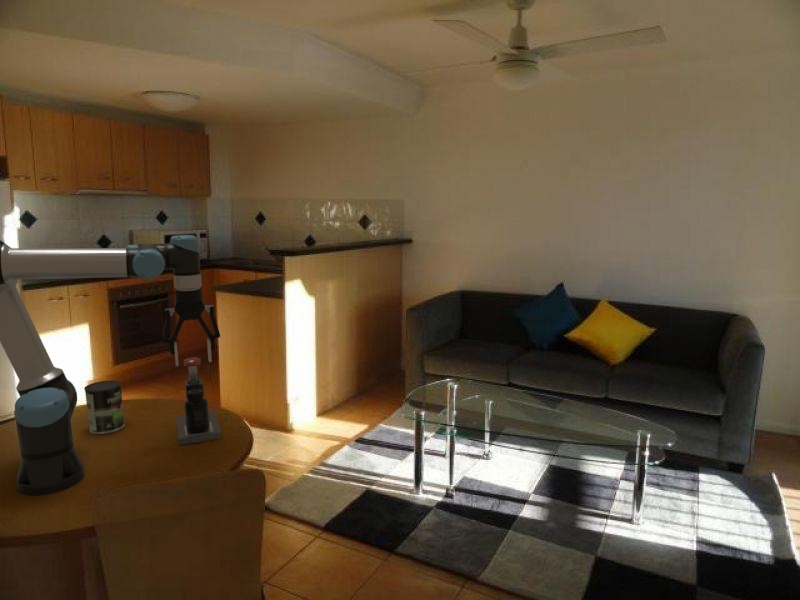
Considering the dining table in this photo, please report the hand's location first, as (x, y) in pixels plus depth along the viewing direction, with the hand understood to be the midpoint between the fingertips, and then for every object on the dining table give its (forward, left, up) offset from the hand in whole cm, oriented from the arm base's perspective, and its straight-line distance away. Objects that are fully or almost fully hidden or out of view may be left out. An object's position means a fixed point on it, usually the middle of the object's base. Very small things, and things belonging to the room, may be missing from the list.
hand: (193, 362), depth 172 cm
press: (+4, 0, -23) cm, 24 cm away
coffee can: (+18, +26, -24) cm, 40 cm away
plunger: (+10, 0, -14) cm, 18 cm away
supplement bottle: (0, 0, -21) cm, 21 cm away
